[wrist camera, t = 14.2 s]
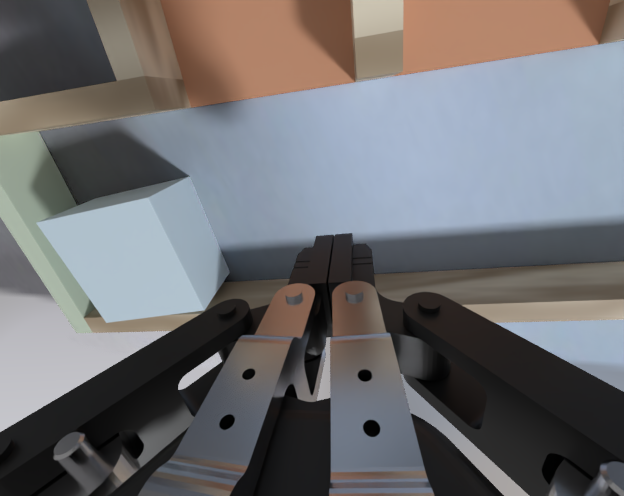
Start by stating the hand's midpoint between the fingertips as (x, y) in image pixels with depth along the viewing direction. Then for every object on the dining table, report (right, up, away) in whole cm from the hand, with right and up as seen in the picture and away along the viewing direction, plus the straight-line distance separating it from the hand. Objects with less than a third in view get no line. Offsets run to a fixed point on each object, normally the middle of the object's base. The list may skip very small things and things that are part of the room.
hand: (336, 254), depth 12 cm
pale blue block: (-12, +1, +11) cm, 16 cm away
